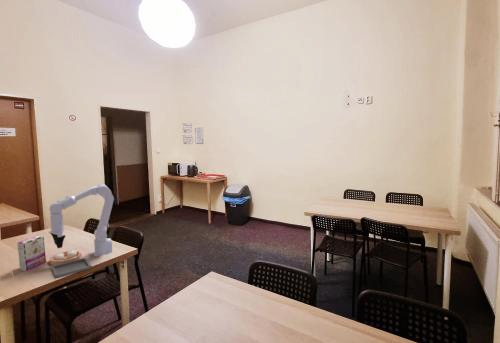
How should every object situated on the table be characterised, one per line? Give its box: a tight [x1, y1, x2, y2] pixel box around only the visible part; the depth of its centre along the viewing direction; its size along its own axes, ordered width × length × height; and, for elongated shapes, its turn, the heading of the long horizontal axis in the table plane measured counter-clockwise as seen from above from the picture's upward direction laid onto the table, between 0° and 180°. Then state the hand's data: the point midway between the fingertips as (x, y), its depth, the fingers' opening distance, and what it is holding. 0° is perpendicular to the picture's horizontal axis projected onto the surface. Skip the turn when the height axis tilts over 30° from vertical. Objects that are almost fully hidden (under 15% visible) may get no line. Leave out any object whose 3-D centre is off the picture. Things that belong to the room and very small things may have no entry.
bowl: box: [49, 250, 82, 266], centre depth 156 cm, size 15×15×3 cm
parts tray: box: [51, 257, 92, 279], centre depth 145 cm, size 16×14×2 cm
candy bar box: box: [16, 235, 47, 272], centre depth 146 cm, size 11×5×16 cm, turn 168°
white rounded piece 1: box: [53, 252, 64, 261], centre depth 153 cm, size 5×5×4 cm
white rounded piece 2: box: [67, 249, 78, 259], centre depth 158 cm, size 5×5×4 cm
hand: (58, 245), depth 153 cm, fingers open, 7 cm apart
